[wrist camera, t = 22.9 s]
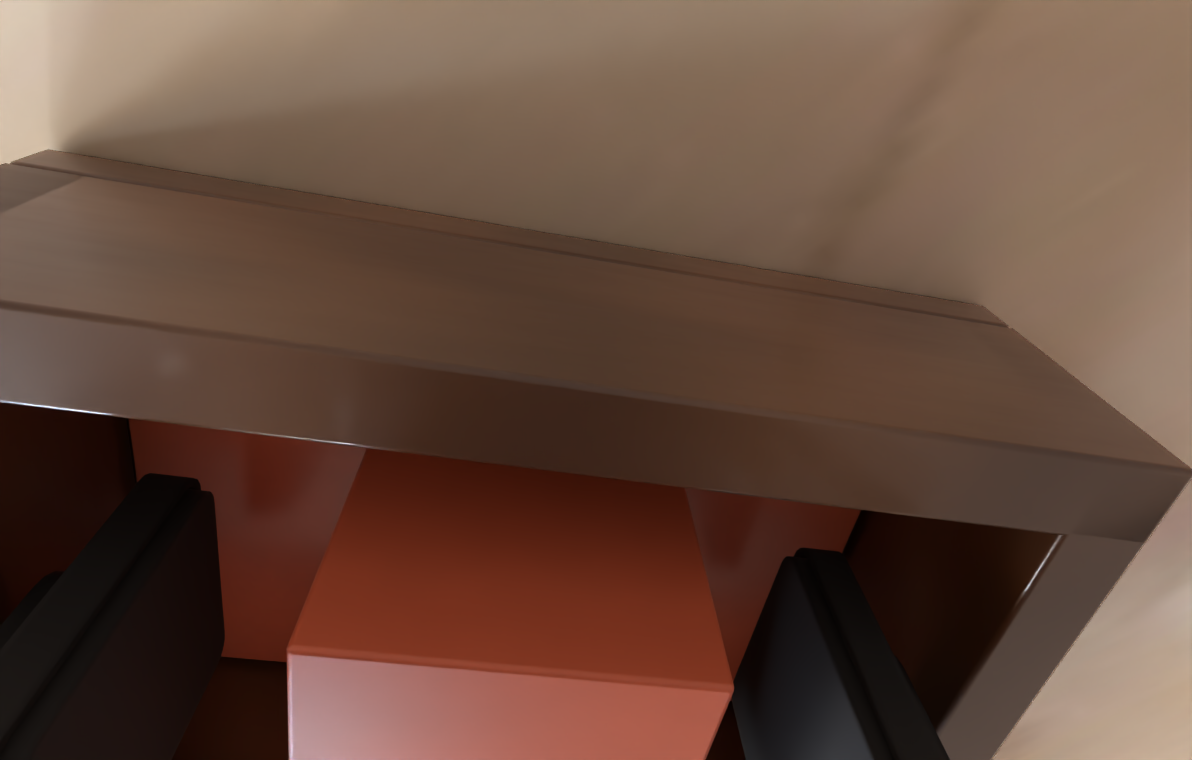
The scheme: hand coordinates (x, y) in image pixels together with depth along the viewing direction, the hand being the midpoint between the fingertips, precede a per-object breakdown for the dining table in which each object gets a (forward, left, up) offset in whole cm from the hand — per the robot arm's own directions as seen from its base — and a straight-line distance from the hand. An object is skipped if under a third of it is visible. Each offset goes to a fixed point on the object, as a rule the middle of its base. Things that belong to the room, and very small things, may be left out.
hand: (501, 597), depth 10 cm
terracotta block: (0, 0, -1) cm, 1 cm away
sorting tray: (0, -4, -2) cm, 5 cm away
